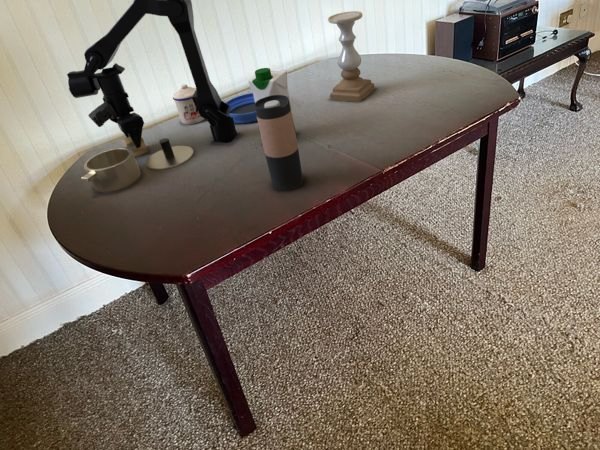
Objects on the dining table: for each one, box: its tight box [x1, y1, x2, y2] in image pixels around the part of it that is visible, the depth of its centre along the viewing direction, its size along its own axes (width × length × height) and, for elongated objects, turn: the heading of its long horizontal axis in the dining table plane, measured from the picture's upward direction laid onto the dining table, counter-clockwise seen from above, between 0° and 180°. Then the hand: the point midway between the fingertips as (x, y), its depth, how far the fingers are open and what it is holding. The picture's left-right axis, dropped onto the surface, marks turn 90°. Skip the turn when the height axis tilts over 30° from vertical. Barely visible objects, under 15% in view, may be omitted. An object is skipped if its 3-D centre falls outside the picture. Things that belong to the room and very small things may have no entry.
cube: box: [121, 136, 149, 158], centre depth 137 cm, size 5×5×5 cm
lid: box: [145, 137, 195, 171], centre depth 129 cm, size 13×13×6 cm
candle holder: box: [327, 10, 376, 103], centre depth 143 cm, size 11×11×24 cm
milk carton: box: [248, 67, 297, 135], centre depth 125 cm, size 9×9×20 cm
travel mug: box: [255, 95, 304, 191], centre depth 104 cm, size 8×8×20 cm
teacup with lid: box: [172, 83, 206, 125], centre depth 151 cm, size 12×9×12 cm
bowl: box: [225, 92, 258, 124], centre depth 150 cm, size 18×18×4 cm
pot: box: [81, 145, 142, 193], centre depth 123 cm, size 12×18×7 cm
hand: (134, 143), depth 136 cm, fingers open, 9 cm apart
